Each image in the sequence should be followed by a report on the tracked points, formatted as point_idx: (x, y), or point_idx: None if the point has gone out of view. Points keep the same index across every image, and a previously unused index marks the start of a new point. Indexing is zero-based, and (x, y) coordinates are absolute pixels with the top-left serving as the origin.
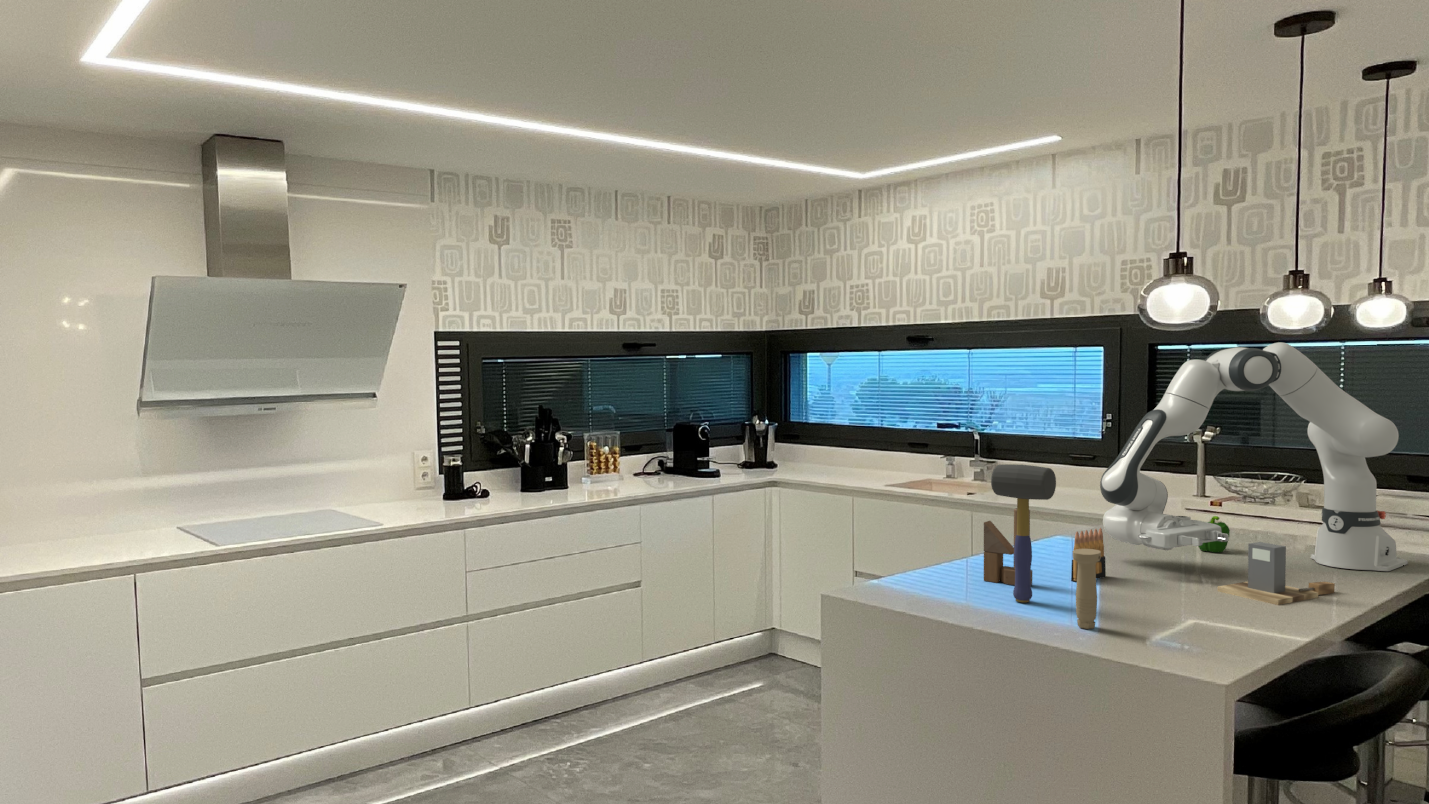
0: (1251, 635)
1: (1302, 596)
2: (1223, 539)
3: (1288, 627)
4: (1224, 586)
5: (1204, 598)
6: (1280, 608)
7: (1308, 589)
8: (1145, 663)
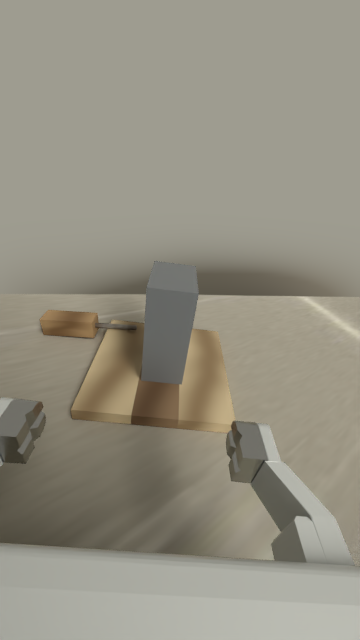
0: (349, 316)
1: None
2: (40, 421)
3: (288, 309)
4: (220, 416)
5: (307, 417)
6: (226, 333)
7: (115, 324)
8: None
